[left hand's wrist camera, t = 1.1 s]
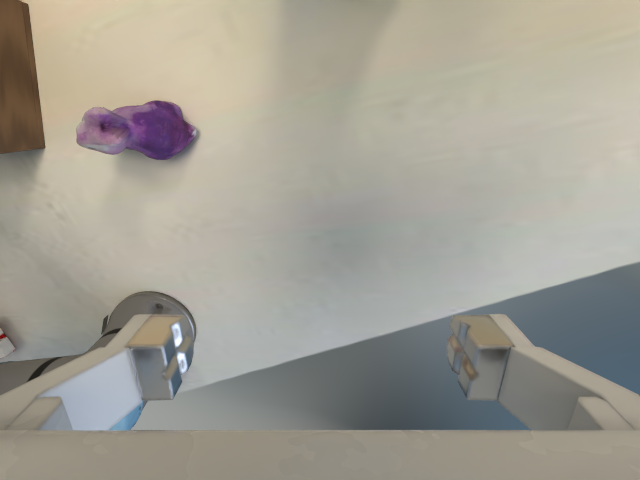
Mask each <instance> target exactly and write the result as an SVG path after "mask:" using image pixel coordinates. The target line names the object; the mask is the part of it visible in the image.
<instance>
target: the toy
mask: <svg viewBox="0 0 640 480" xmlns="http://www.w3.org/2000/svg"><path fill="white" fill-rule="evenodd" d="M3 333H4V332H3V331H2V330H1V328H0V358H2V357H5V356H8V355H9V354H10V353H11V352H12V351H14V350H15V347H14V346H13V345H12V343H11V342H10V340H9V339H8V338H7V337H6V336H5V335H4V334H3Z"/></svg>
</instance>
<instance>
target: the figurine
mask: <svg viewBox="0 0 640 480" xmlns="http://www.w3.org/2000/svg"><path fill="white" fill-rule="evenodd" d="M76 132H77V144H79V145H80V146H82V147H85V148H88V149H91V150H95V151H99V152H102V153H106V154H112V155H114V154H118V153H120V152H122V151H123V150H124V149H125V148H127V149H132V150H137V151H140V152H142V153H144V154H145V155H146V156H147V157H150V158H153V159H157V160H165V159H169V158H171V157H173V156H174V155H175V154H177V153H179V152H180V151H181V150H183V149H184V148H185V147H186V146H187V145H188V144H189V143H190V142H191V141H192V140H193V139H194V138H195V136H196V134H197V130H196V128H195V127H194V126H192V125H190V124H188V123H187V122H186V121H184V120H183V117H182V115H181V110H180V108H179V107H178V106H177V105H175V104H174V103H171V102H165V101H151V102H148V103H146V104H144V105H141V106H125V107H120V108H117V109H115V110H113V111H110V110H108V109H106V108H104V107H103V108H101V107H95V108H91V109H90V110H88V111H87V112H86V113H85V114H84V116H83V118H82V122H81V123H80V124H79V125H78V127H77V131H76Z"/></svg>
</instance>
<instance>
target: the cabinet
mask: <svg viewBox="0 0 640 480" xmlns="http://www.w3.org/2000/svg"><path fill="white" fill-rule="evenodd" d="M40 148H45V143H44V135H43V126H42V118H41V109H40V101H39V93H38V84H37V76H36V67H35V59H34V51H33V42H32V34H31V25H30V17H29V9H28V4H26V3H24V2H21V1H18V0H0V154H1V153H9V152H17V151H25V150H33V149H40Z"/></svg>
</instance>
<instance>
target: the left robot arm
mask: <svg viewBox="0 0 640 480" xmlns="http://www.w3.org/2000/svg"><path fill="white" fill-rule="evenodd" d="M189 328H190V323H189V318H188V317H187V316H186V315H162V314H154V315H153V314H138V315H134V316H133V317H132V318H131V319H130V320H129V321H128V322H127V323H126V325H125V326H124V327H123V328H122V329H121V330H120V331H119V332H118V333H117V334H116V335H115V337H114V338H113V339H112V340H111V341H110V342H109V343H108V344H107V345H106V346H105V347H99V348H97V349H95V350H93V351H91V352H89V353H87V354H85V355H82V356H80V357H78V358H76V359H74V360H72V361H70V362H68V363H66V364H64V365H62V366H60V367H58V368H56V369H54V370H52V371H49V372H47V373H45V374H43V375H41V376H39V377H37V378H35V379H33V380H31V381H29V382H27V383H25V384H23V385H21V386H18V387H16V388H14V389H12V390H10V391H8V392H6V393H4V394H2V395H0V480H640V395H638V394H636V393H634V392H632V391H629V390H627V389H625V388H623V387H621V386H619V385H617V384H615V383H613V382H611V381H609V380H607V379H605V378H603V377H601V376H599V375H597V374H594V373H592V372H590V371H588V370H586V369H584V368H582V367H580V366H578V365H576V364H574V363H572V362H570V361H568V360H566V359H564V358H562V357H560V356H557V355H555V354H553V353H551V352H549V351H547V350H545V349H543V348H541V347H535V346H534V345H533V344H532V343H531V342H530V341H529V340H528V339H527V338H526V337H525V335H524V334H523V333H522V332H521V331H520V330H519V329H518V328H517V327H516V326H515V325H514V324H513V322H512V321H511V320H510V319H509V318H508V317H507V316H506V315H503V314H489V315H453V317H452V319H451V322H450V328H451V330H452V332H453V334H452V335H451V336H450V337H449V338H448V340H447V358H448V362H449V365H450V367H451V369H452V371H454V372H455V373H457V374H458V375H459V379H458V383H459V385H460V387H461V388H462V390H463V392H464V394H465V396H466V398H467V400H495V401H498V403H499V404H501V405H502V406H503V407H504V408H505V409H507V410H508V411H509V412H510V413H512V414H513V415H514V416H515V417H516V418H518V419H519V420H520V421H521V422H523V423H524V424H525V425H526V426H527V427H529V428H530V429H531V430H109V429H110V428H112V427H113V426H114V425H115V424H116V423H118V422H119V421H120V420H121V419H123V418H124V417H125V416H126V415H127V414H129V413H130V412H131V411H132V410H133V409H135V408H136V407H137V406H138V405H140V404H141V403H142V401H145V400H173V398H174V396H175V394H176V392H177V391H178V389H179V387H180V385H181V383H182V379H181V375H182V374H183V373H185V372H186V371H188V369H189V367H190V365H191V362H192V357H193V340H192V338H191V337H190V336H189V335H188V334H187V332H188V330H189Z"/></svg>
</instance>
